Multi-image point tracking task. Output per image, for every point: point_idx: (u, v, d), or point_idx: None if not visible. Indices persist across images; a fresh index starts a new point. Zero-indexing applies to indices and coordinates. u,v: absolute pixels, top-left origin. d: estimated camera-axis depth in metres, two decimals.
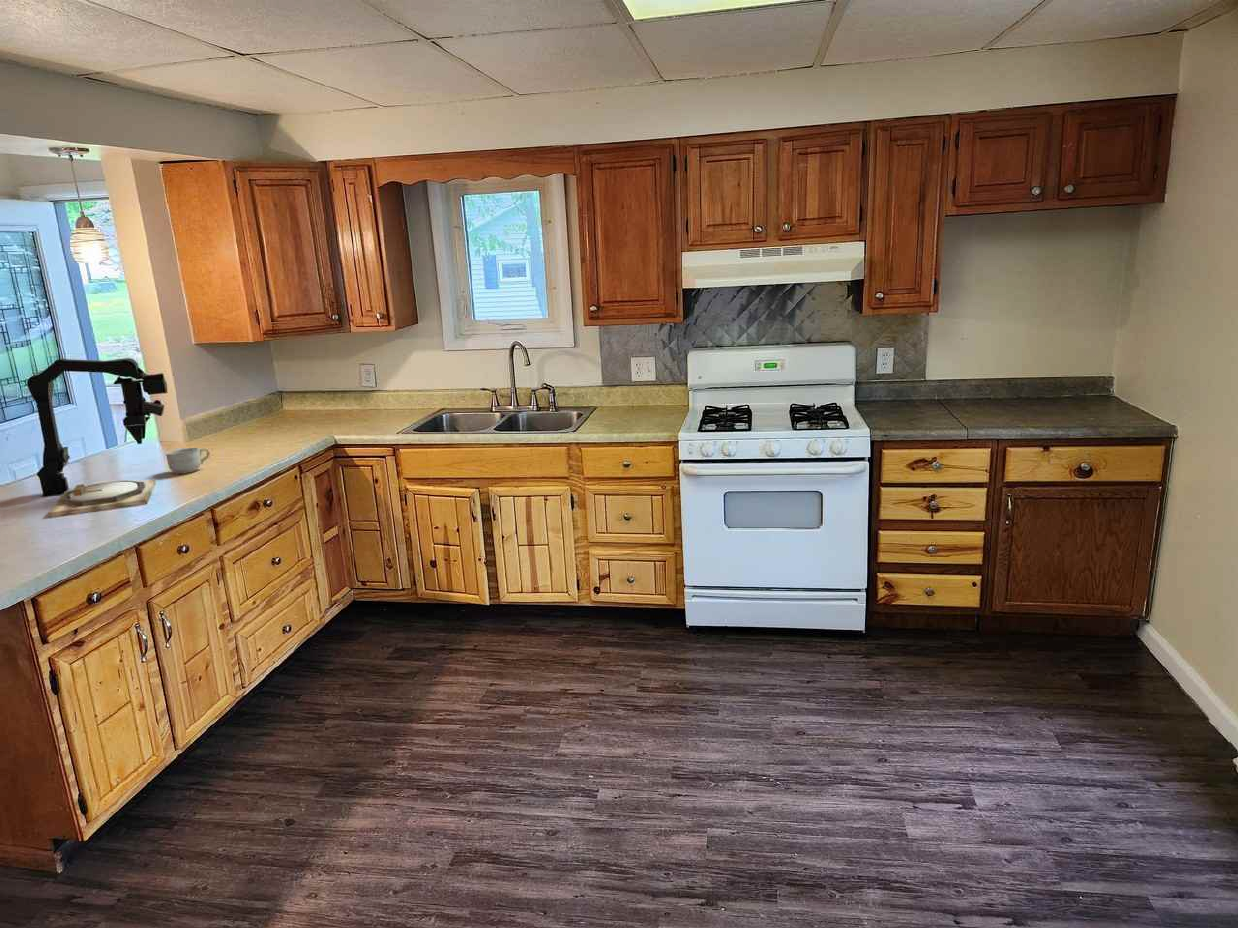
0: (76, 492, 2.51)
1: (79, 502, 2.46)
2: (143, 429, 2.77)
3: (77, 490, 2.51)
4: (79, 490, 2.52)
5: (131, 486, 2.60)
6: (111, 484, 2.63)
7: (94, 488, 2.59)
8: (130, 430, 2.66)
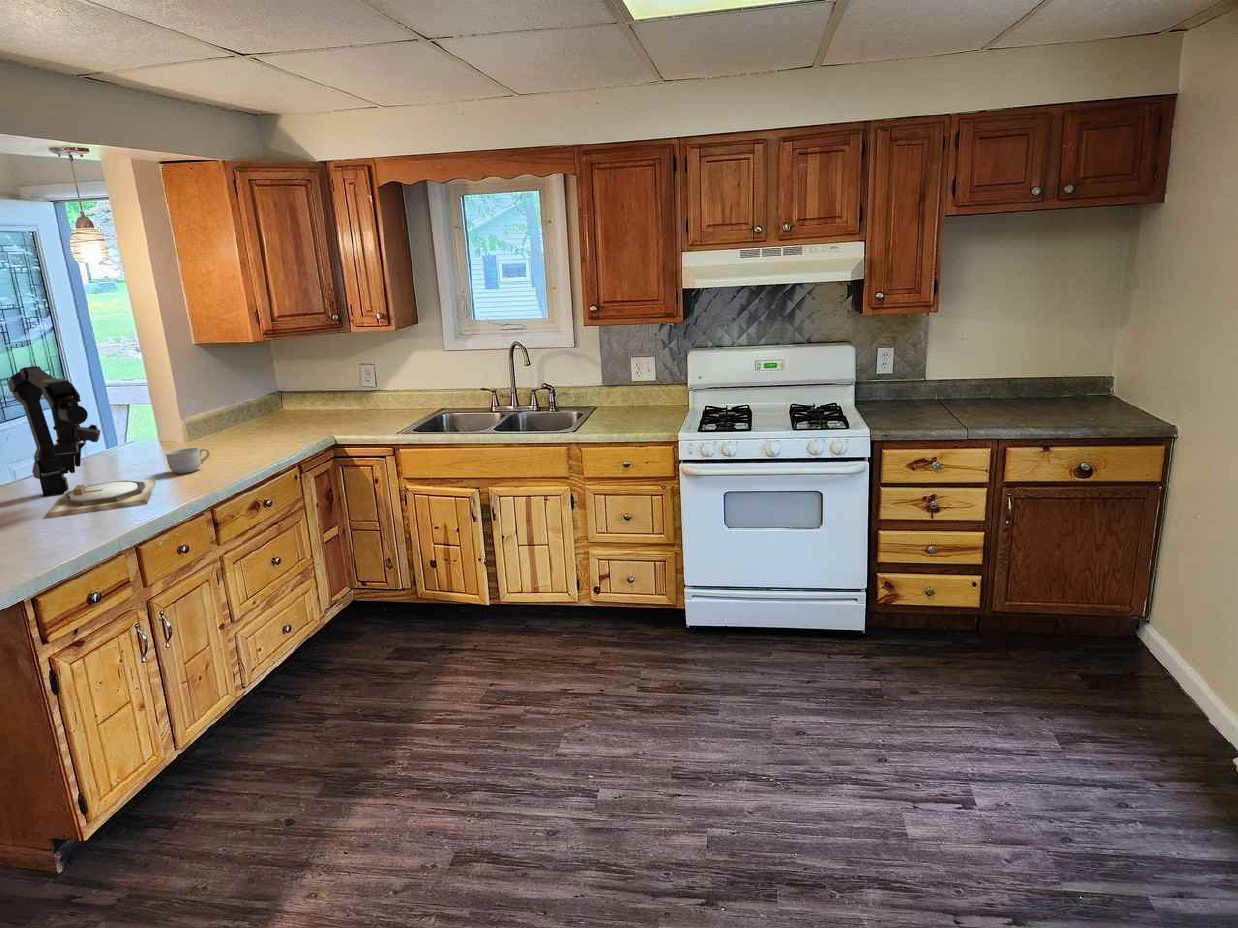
0: (76, 492, 2.51)
1: (79, 502, 2.46)
2: (78, 456, 2.56)
3: (77, 490, 2.51)
4: (79, 490, 2.52)
5: (131, 486, 2.60)
6: (111, 484, 2.63)
7: (94, 488, 2.59)
8: (61, 458, 2.45)
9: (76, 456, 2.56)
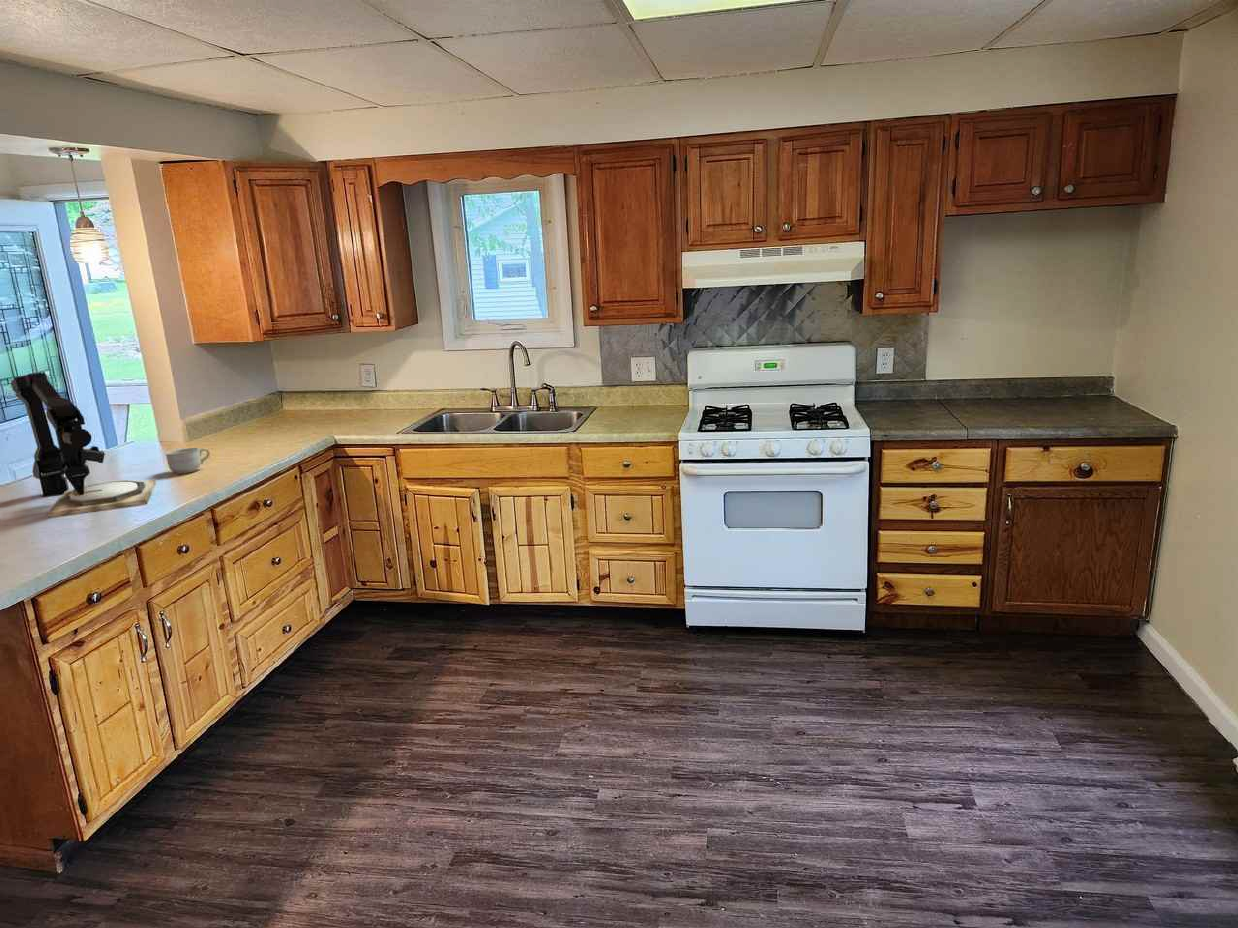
0: (76, 492, 2.51)
1: (79, 502, 2.46)
2: None
3: None
4: None
5: (131, 486, 2.60)
6: (111, 484, 2.63)
7: (94, 488, 2.59)
8: (71, 481, 2.46)
9: None
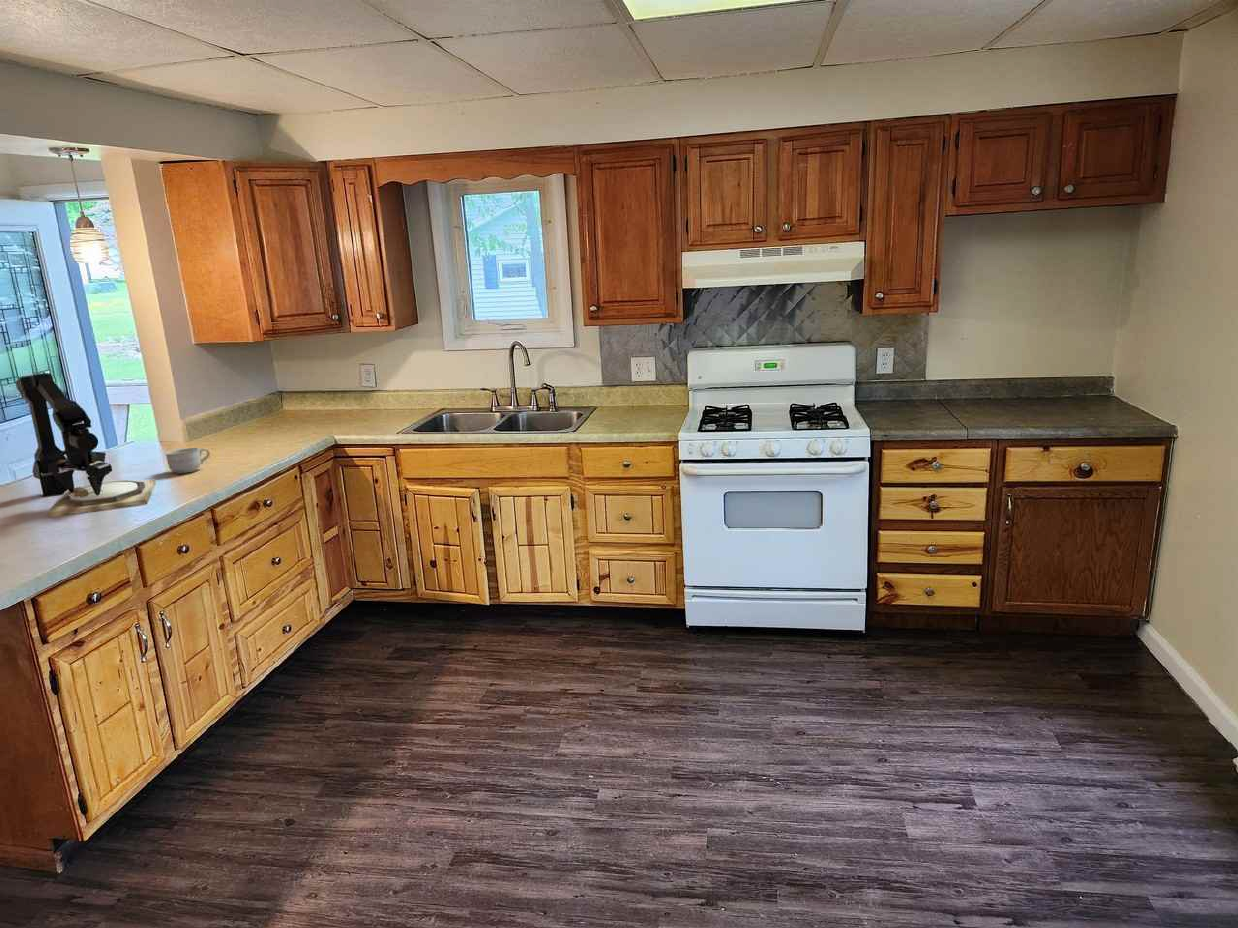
0: (83, 493, 2.50)
1: (79, 502, 2.46)
2: (72, 482, 2.52)
3: (84, 491, 2.50)
4: (86, 491, 2.50)
5: (129, 484, 2.63)
6: None
7: (88, 490, 2.57)
8: (94, 481, 2.47)
9: (70, 482, 2.52)
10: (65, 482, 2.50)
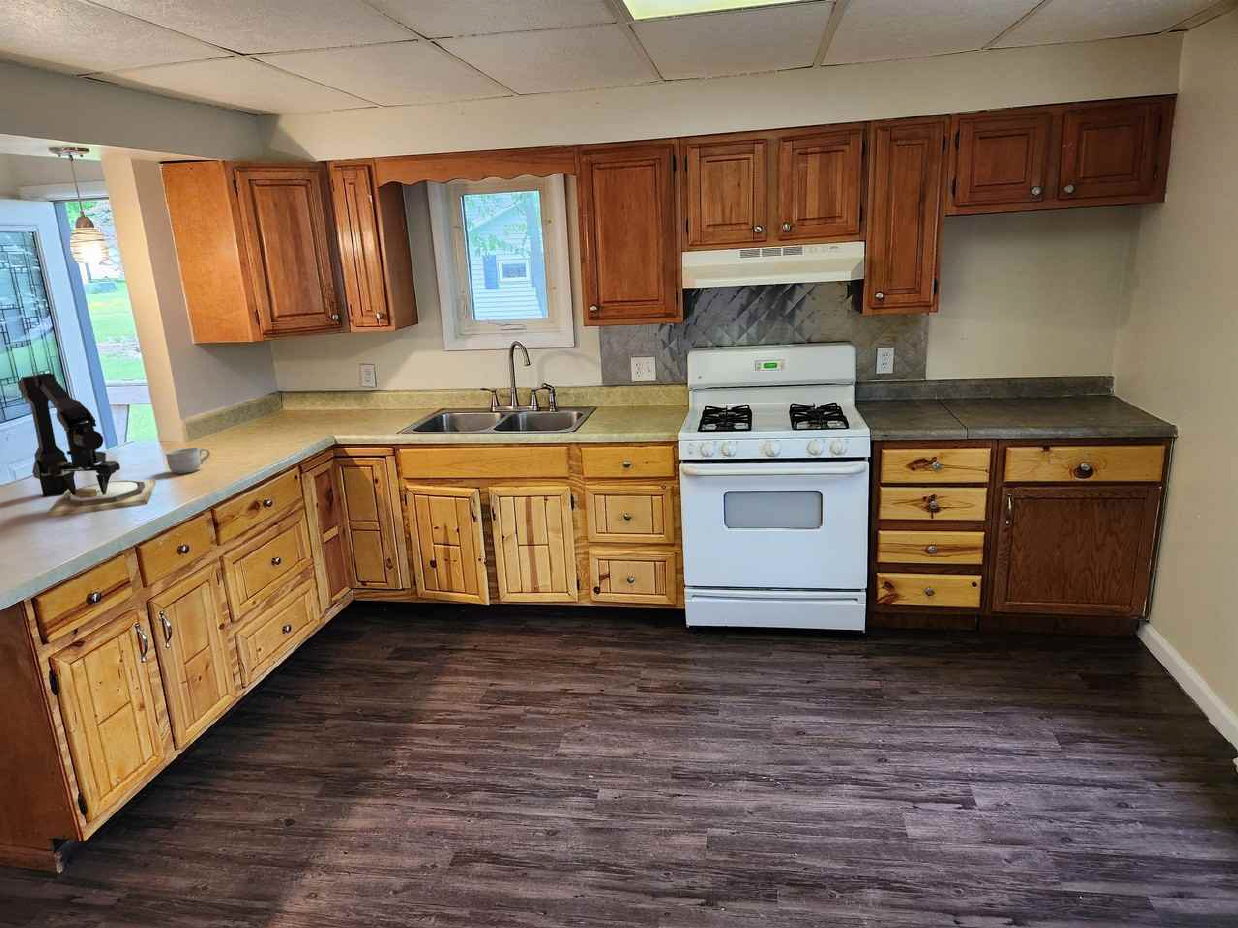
0: (92, 493, 2.50)
1: (79, 502, 2.46)
2: (74, 484, 2.50)
3: (93, 491, 2.50)
4: (94, 491, 2.50)
5: (123, 483, 2.64)
6: (90, 488, 2.60)
7: None
8: (103, 479, 2.47)
9: (72, 484, 2.50)
10: (68, 484, 2.48)
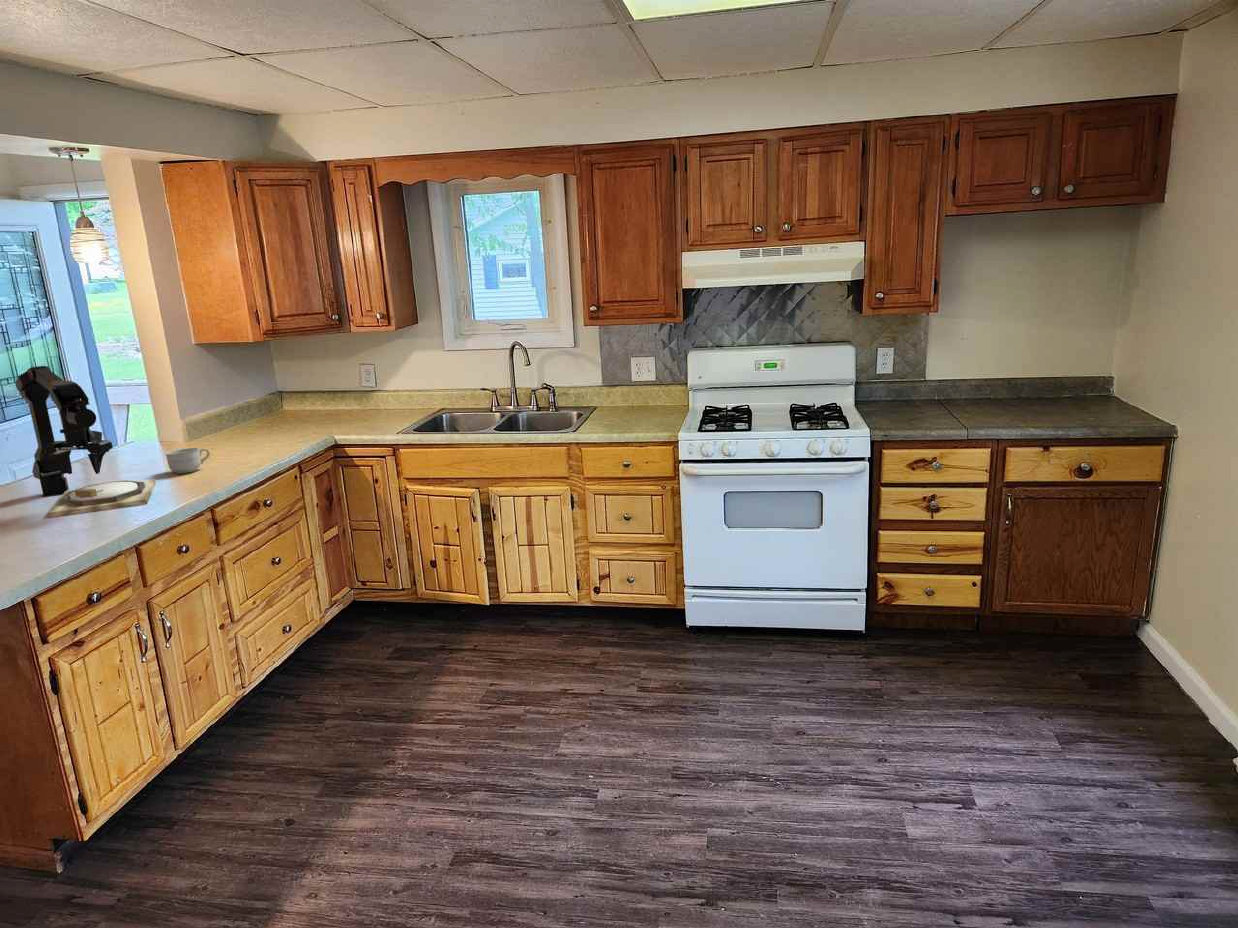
0: (92, 493, 2.50)
1: (79, 502, 2.46)
2: (69, 463, 2.49)
3: (93, 491, 2.50)
4: (94, 491, 2.50)
5: (123, 483, 2.64)
6: (90, 488, 2.60)
7: None
8: (95, 458, 2.45)
9: (68, 463, 2.48)
10: (63, 463, 2.47)
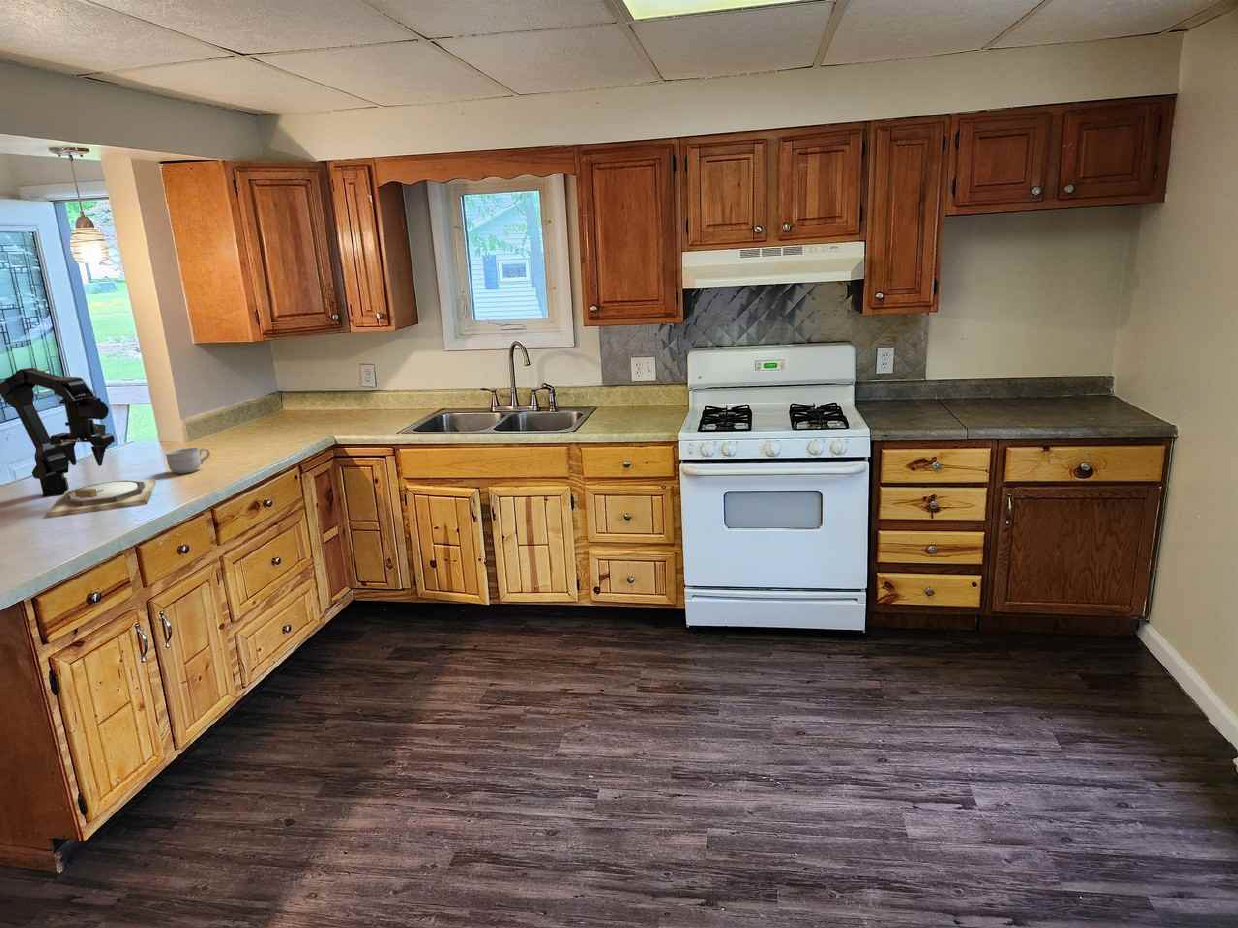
0: (92, 493, 2.50)
1: (79, 502, 2.46)
2: (74, 454, 2.59)
3: (93, 491, 2.50)
4: (94, 491, 2.50)
5: (123, 483, 2.64)
6: (90, 488, 2.60)
7: None
8: (97, 451, 2.55)
9: (72, 454, 2.59)
10: (67, 454, 2.57)
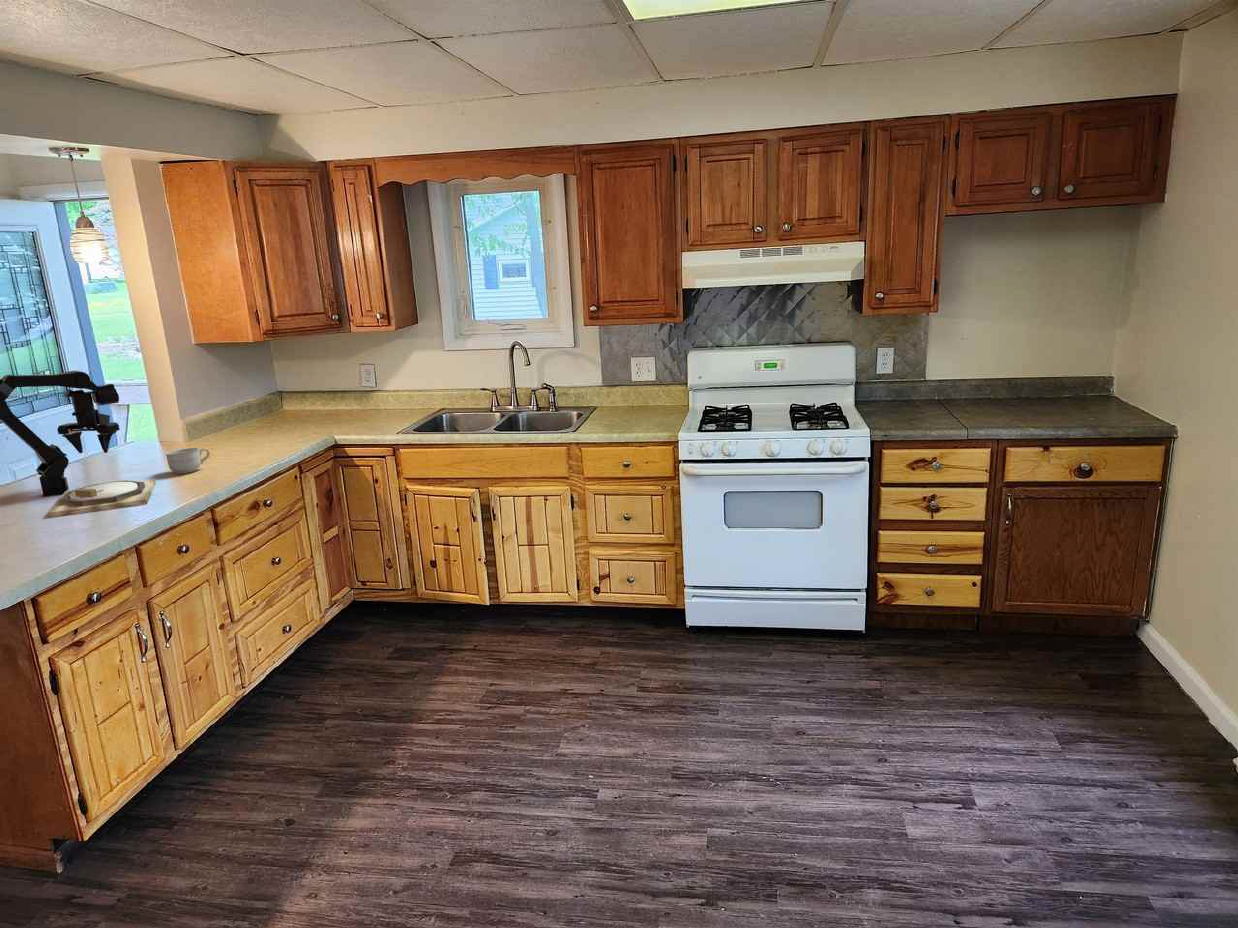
0: (92, 493, 2.50)
1: (79, 502, 2.46)
2: (80, 443, 2.74)
3: (93, 491, 2.50)
4: (94, 491, 2.50)
5: (123, 483, 2.64)
6: (90, 488, 2.60)
7: None
8: (103, 439, 2.70)
9: (79, 443, 2.74)
10: (75, 443, 2.72)
